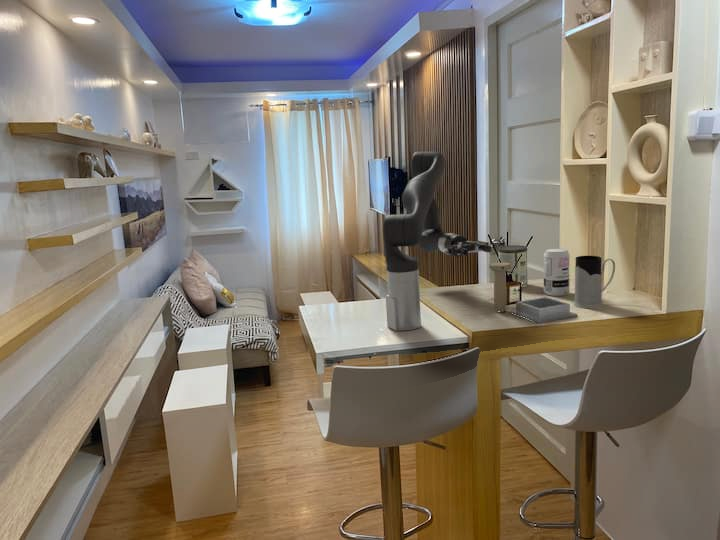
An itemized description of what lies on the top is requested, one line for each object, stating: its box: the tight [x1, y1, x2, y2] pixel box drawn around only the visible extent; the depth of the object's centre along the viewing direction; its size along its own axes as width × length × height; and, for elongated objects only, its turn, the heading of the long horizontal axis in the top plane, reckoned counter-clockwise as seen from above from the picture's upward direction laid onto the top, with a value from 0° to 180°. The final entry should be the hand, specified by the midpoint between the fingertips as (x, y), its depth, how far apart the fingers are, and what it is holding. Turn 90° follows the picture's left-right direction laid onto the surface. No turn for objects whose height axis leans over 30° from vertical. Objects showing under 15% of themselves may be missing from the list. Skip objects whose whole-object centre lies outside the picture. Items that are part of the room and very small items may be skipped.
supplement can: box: [543, 248, 570, 297], centre depth 203 cm, size 8×8×15 cm
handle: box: [488, 262, 511, 313], centre depth 186 cm, size 5×6×15 cm
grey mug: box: [572, 255, 616, 309], centre depth 188 cm, size 9×14×15 cm, turn 108°
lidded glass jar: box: [497, 244, 529, 289], centre depth 219 cm, size 10×10×14 cm
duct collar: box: [508, 296, 578, 325], centre depth 180 cm, size 14×14×4 cm
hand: (478, 250), depth 195 cm, fingers open, 8 cm apart
